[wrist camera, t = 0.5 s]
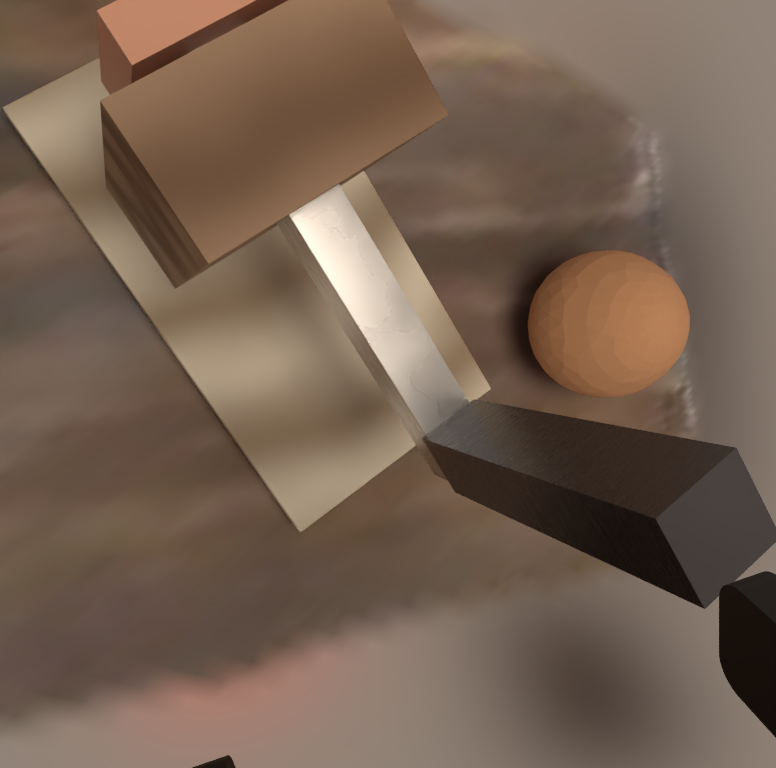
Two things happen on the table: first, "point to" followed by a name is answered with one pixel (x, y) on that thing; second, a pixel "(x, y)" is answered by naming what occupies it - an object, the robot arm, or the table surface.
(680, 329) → the egg
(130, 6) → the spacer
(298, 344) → the block
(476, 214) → the table surface
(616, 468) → the gray l-shaped bracket
